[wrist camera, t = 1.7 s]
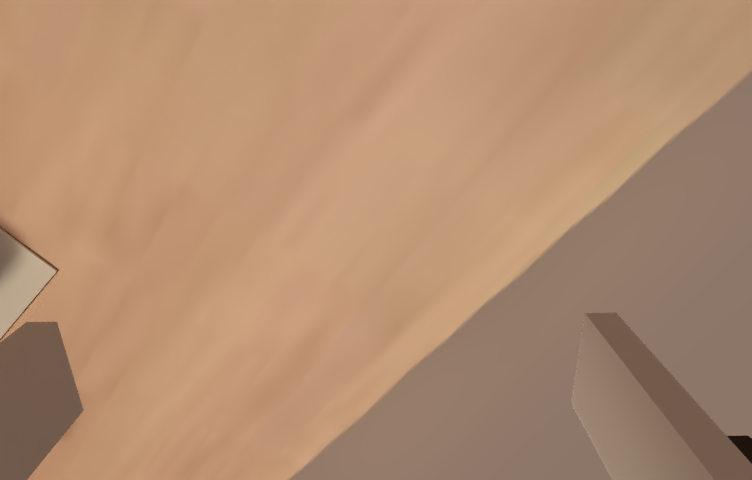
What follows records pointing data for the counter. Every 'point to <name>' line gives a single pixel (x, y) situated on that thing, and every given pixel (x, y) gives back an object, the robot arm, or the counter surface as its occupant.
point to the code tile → (19, 279)
